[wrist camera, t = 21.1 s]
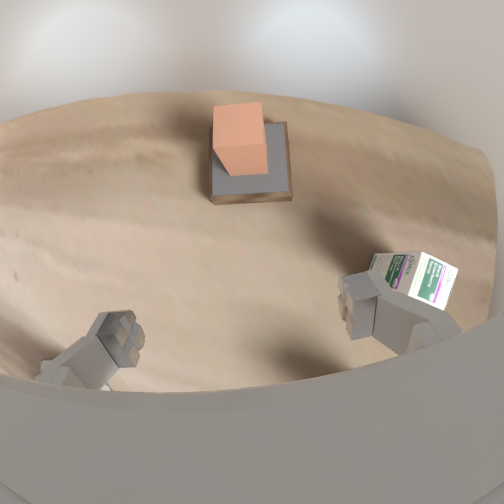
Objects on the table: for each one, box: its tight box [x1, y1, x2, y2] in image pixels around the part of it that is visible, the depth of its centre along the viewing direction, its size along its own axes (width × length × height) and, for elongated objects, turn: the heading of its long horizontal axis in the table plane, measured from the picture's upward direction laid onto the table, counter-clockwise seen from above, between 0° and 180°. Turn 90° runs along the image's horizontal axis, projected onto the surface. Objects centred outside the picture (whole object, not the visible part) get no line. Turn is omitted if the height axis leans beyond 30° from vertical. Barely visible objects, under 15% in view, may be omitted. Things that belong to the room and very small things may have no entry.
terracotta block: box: [213, 102, 268, 176], centre depth 31 cm, size 5×5×10 cm
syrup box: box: [369, 251, 458, 310], centre depth 30 cm, size 6×6×14 cm
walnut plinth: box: [209, 122, 292, 205], centre depth 38 cm, size 11×11×4 cm
